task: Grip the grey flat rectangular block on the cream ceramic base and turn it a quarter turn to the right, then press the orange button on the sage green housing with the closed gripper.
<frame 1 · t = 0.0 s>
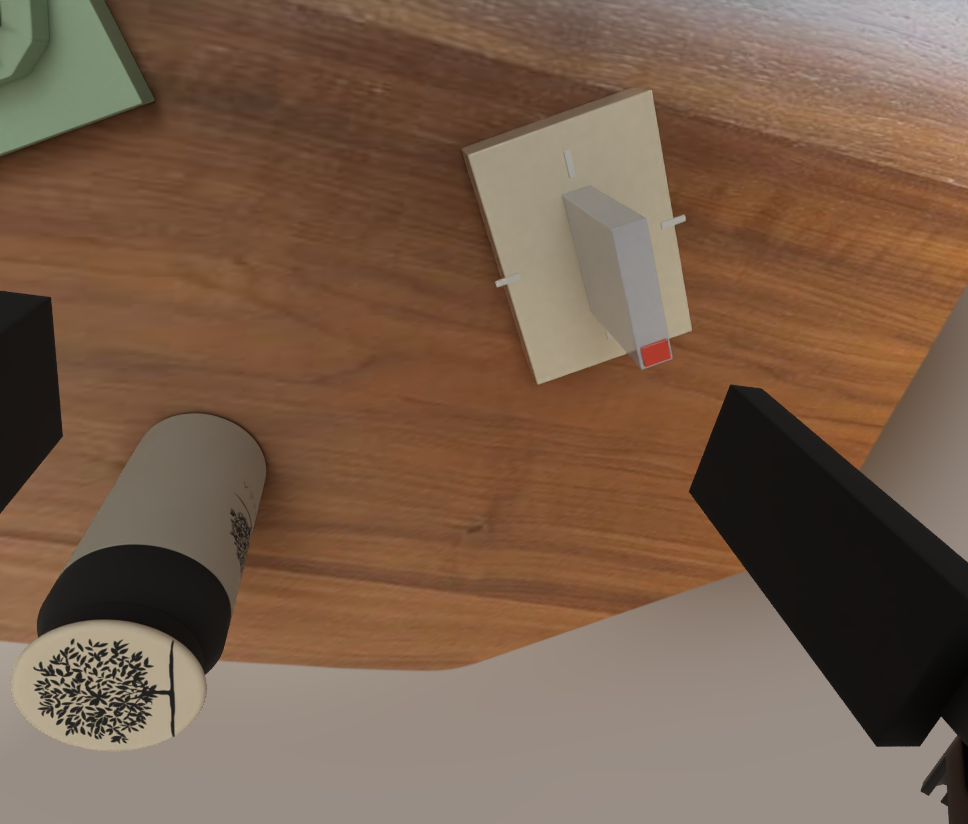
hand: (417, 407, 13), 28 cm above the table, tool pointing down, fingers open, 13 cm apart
grey flat rectangular block: (614, 272, 34), point 7 cm above the table, hinge at 0.0°
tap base: (575, 238, 41), on the table
travel mug: (203, 463, 44), on the table
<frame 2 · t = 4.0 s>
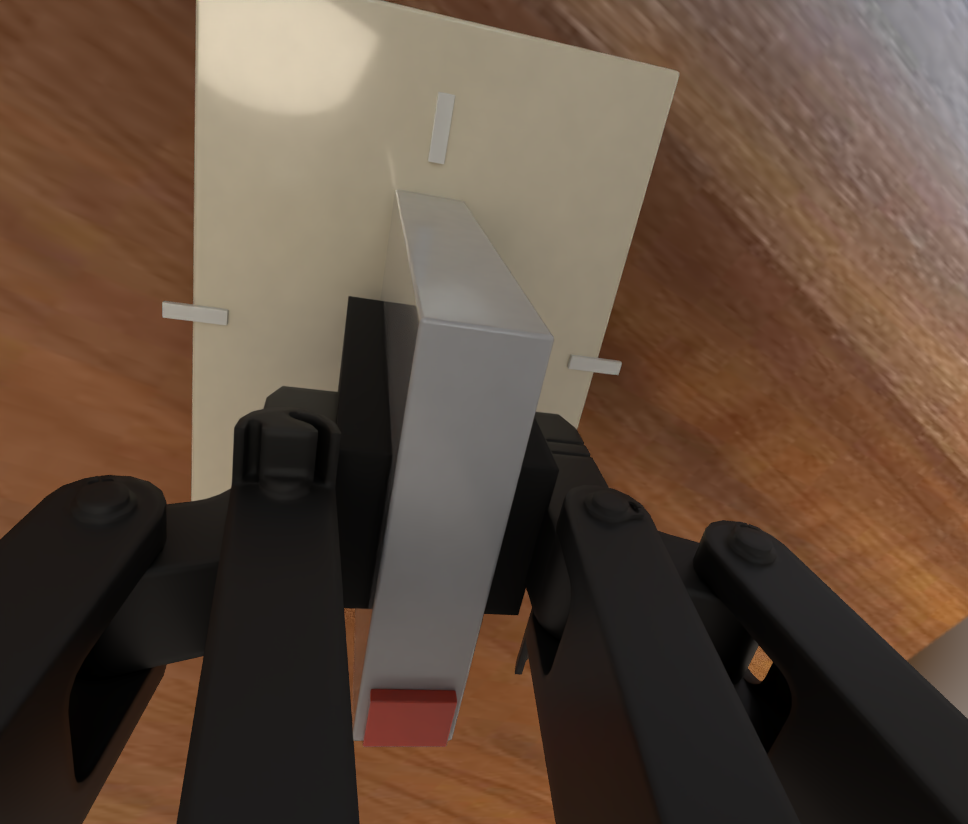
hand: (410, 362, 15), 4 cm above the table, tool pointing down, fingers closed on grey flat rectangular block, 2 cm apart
grey flat rectangular block: (419, 424, 13), point 7 cm above the table, hinge at 0.0°, touching gripper
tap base: (402, 301, 19), on the table
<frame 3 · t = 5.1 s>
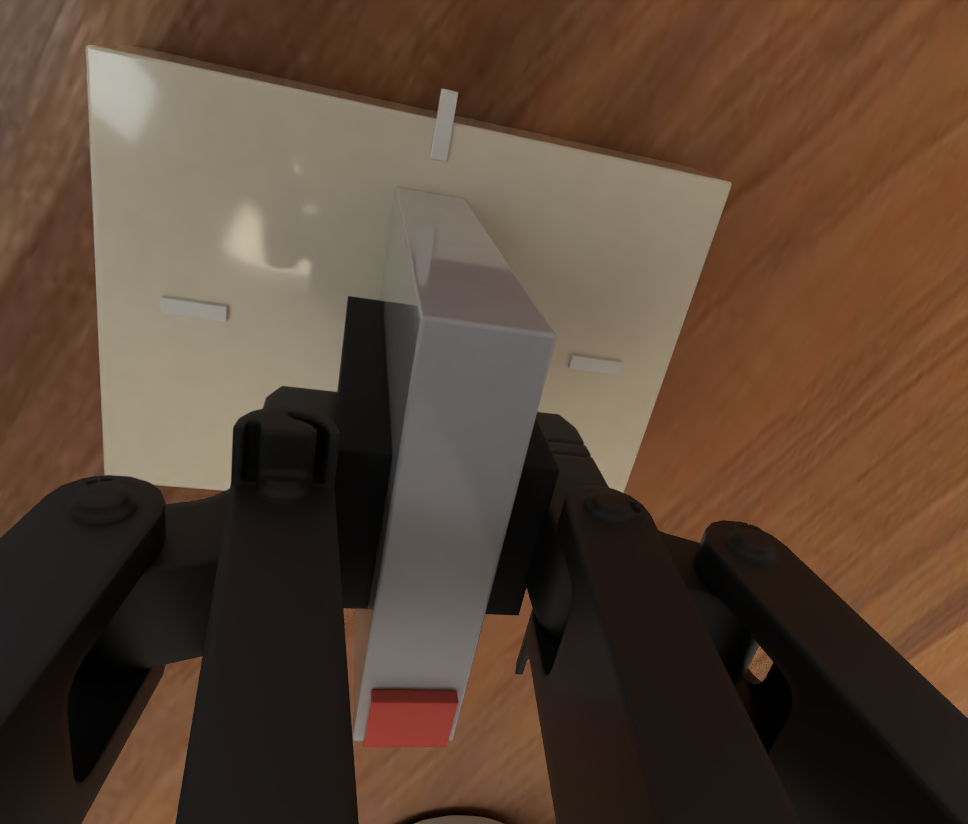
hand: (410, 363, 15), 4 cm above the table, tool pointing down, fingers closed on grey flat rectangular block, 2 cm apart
grey flat rectangular block: (419, 423, 13), point 7 cm above the table, hinge at -89.4°, touching gripper
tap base: (402, 299, 19), on the table
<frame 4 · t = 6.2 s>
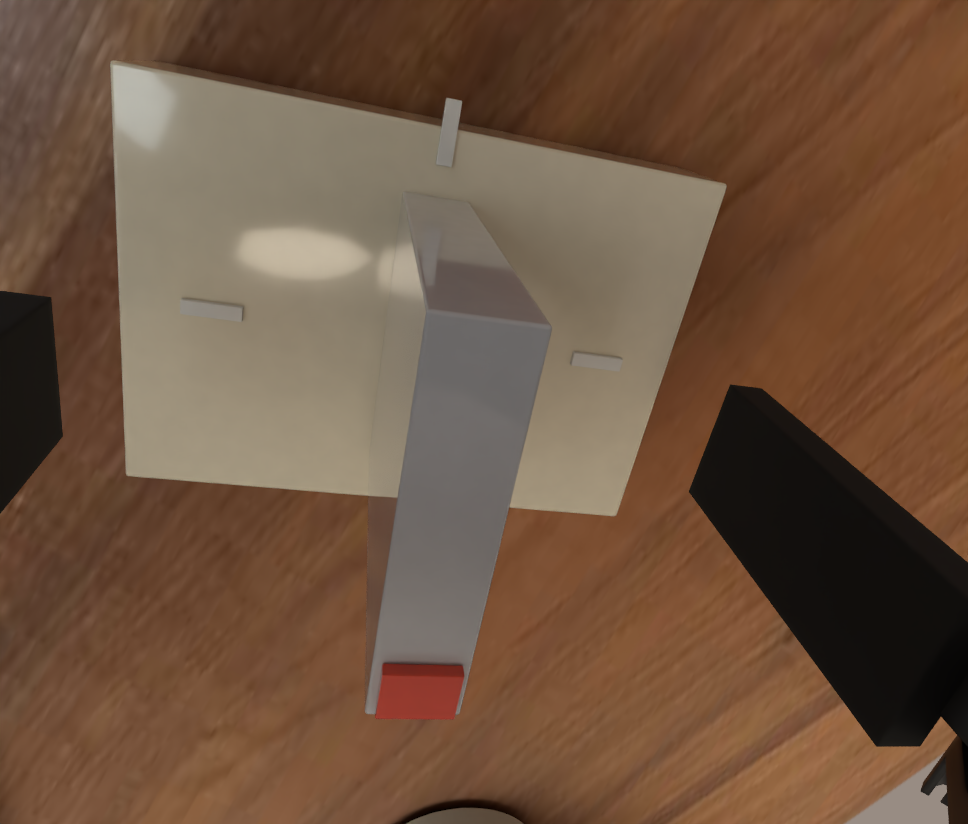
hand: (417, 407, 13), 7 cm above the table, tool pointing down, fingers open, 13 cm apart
grey flat rectangular block: (427, 415, 13), point 7 cm above the table, hinge at -89.4°
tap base: (410, 299, 20), on the table
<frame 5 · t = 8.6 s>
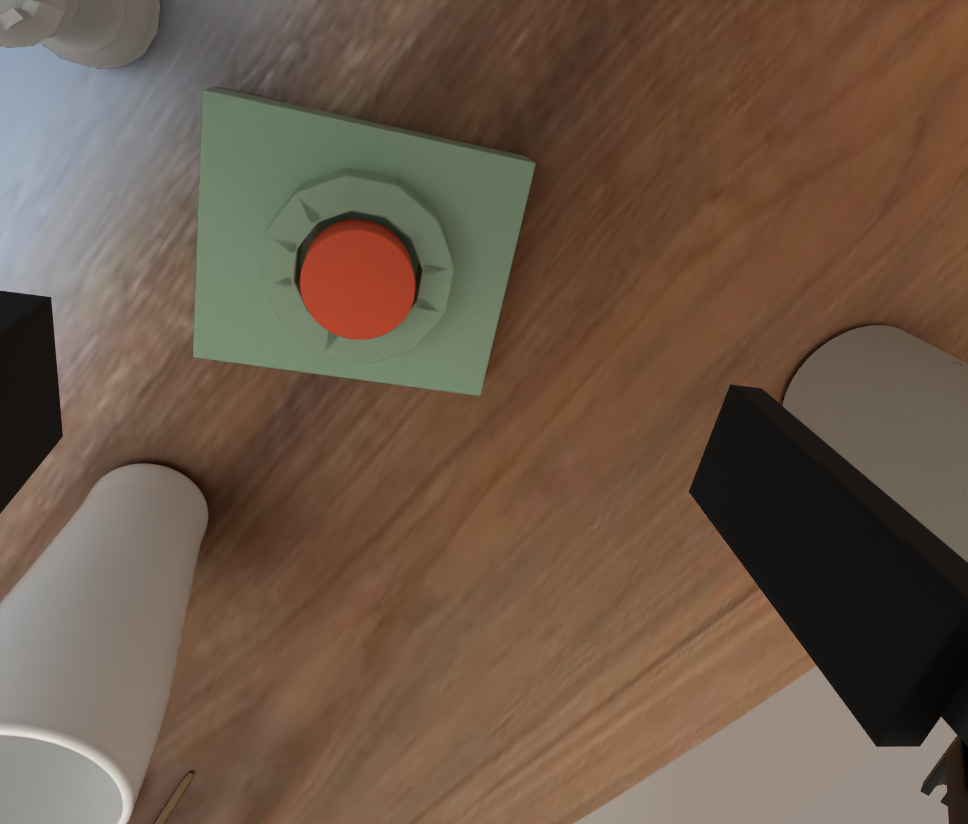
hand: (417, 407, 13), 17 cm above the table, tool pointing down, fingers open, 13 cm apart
button box: (360, 249, 28), on the table
button: (358, 279, 25), point 4 cm above the table, slide at 0.1 cm
place setting: (8, 815, 41), on the table
drinking glass: (153, 502, 33), on the table
travel mug: (847, 392, 36), on the table
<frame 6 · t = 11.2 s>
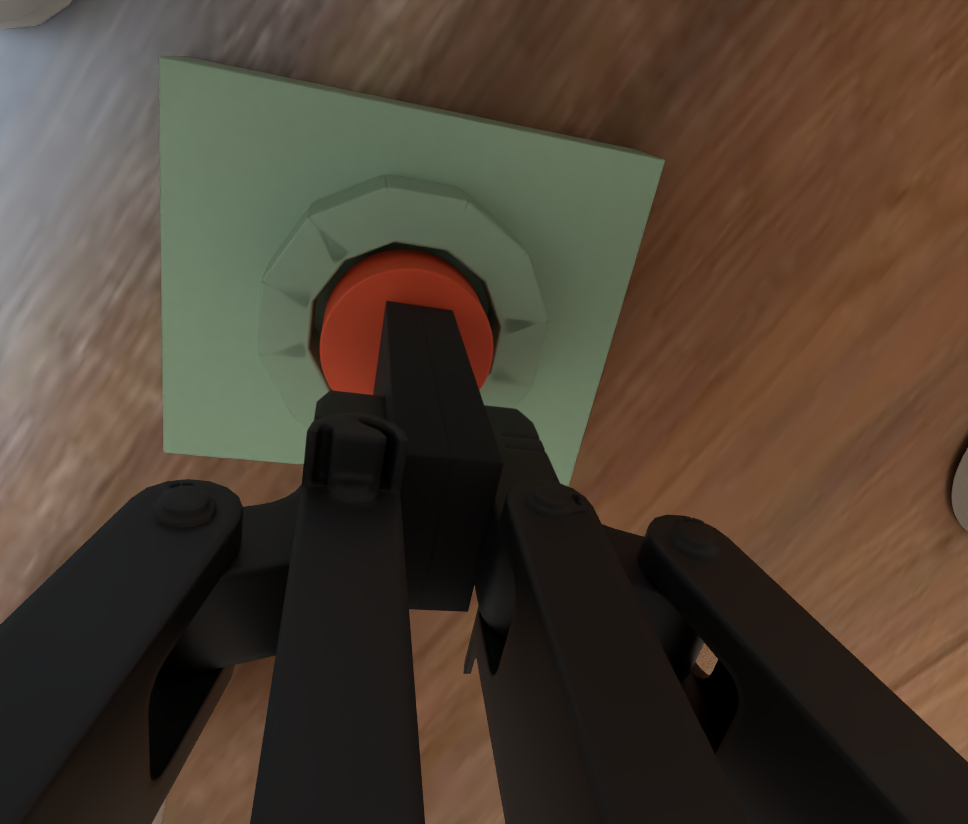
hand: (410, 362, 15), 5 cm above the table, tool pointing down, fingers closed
button box: (399, 288, 20), on the table
button: (406, 339, 16), point 4 cm above the table, slide at -0.3 cm, touching gripper
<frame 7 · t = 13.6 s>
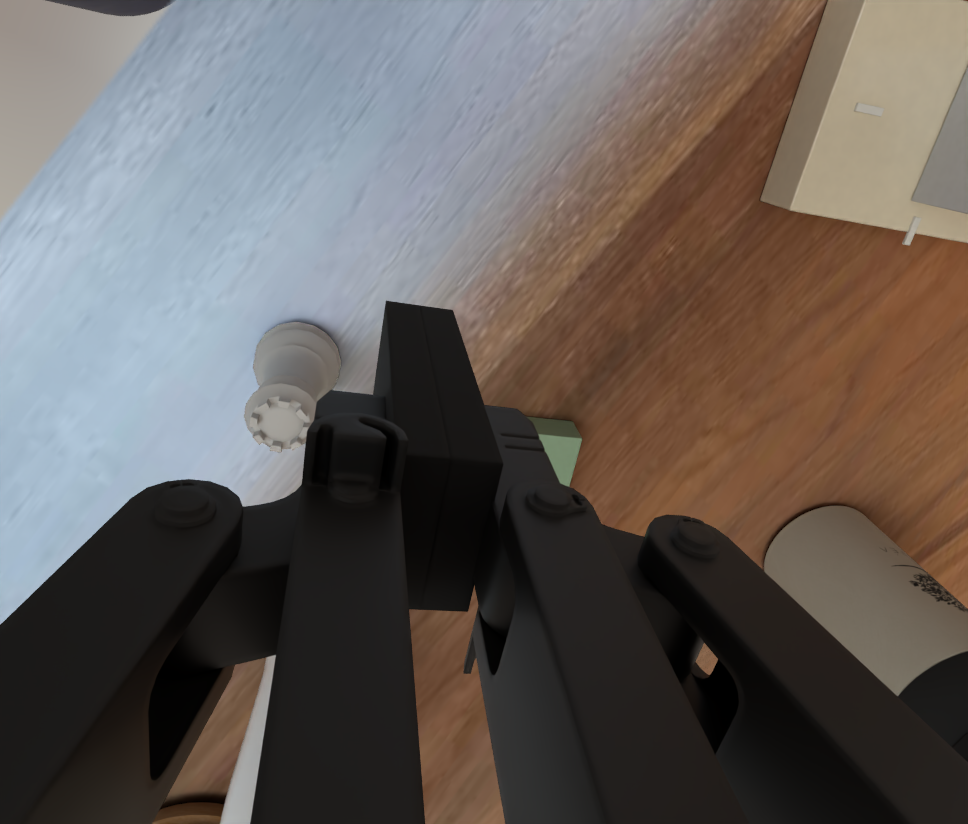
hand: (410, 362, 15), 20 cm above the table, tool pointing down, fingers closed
rook chess piece: (299, 357, 37), on the table
button box: (460, 484, 41), on the table
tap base: (911, 125, 35), on the table
drinking glass: (309, 649, 46), on the table
travel mug: (813, 548, 48), on the table
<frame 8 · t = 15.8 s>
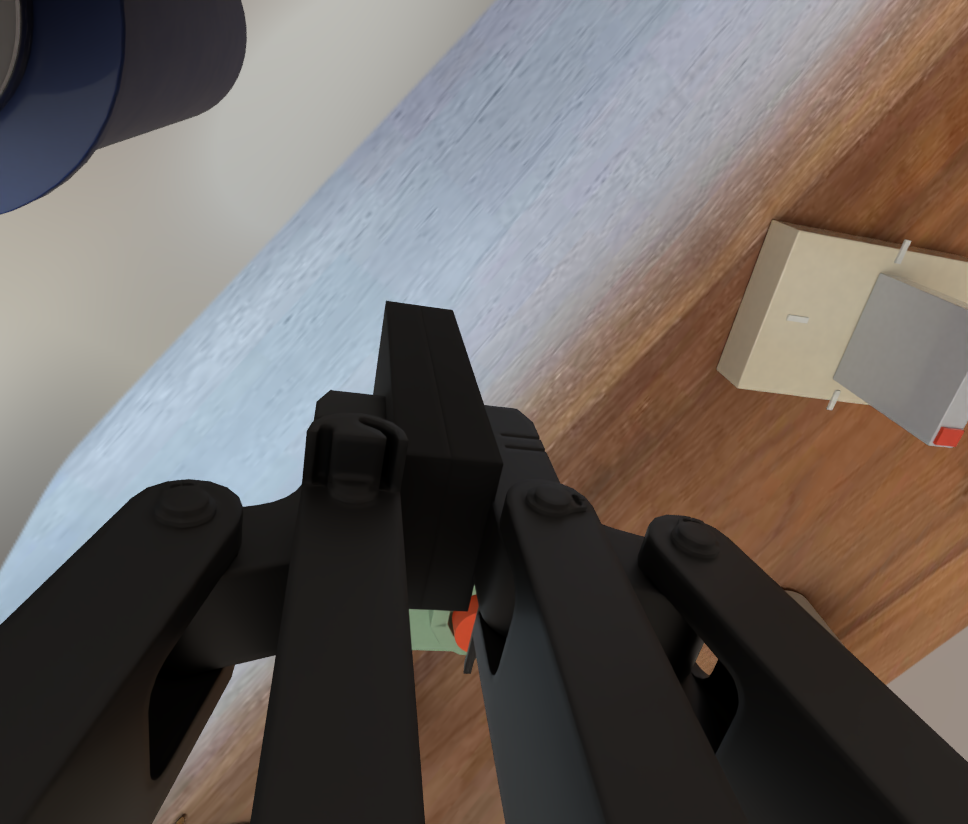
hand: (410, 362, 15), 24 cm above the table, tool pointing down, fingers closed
grey flat rectangular block: (915, 356, 38), point 7 cm above the table, hinge at -89.4°
button box: (473, 580, 51), on the table
button: (482, 624, 47), point 4 cm above the table, slide at 0.1 cm
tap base: (836, 313, 45), on the table
travel mug: (763, 621, 58), on the table
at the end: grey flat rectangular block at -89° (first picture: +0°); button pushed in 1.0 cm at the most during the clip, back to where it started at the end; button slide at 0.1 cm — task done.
